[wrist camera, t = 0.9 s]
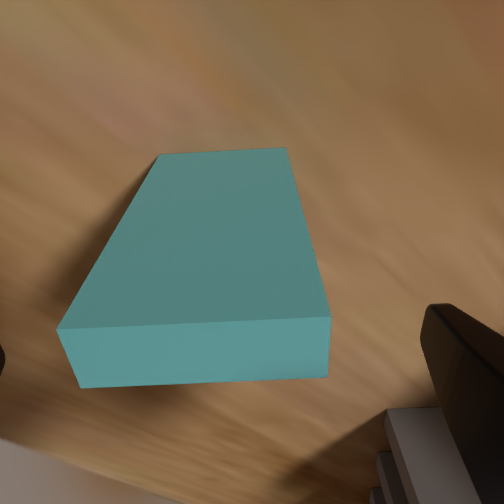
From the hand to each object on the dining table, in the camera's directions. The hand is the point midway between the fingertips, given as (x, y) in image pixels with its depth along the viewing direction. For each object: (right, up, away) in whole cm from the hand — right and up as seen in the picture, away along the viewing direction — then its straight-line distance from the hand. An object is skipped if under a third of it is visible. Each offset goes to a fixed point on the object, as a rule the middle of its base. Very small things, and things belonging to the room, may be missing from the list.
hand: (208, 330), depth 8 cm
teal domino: (0, +5, +8) cm, 9 cm away
